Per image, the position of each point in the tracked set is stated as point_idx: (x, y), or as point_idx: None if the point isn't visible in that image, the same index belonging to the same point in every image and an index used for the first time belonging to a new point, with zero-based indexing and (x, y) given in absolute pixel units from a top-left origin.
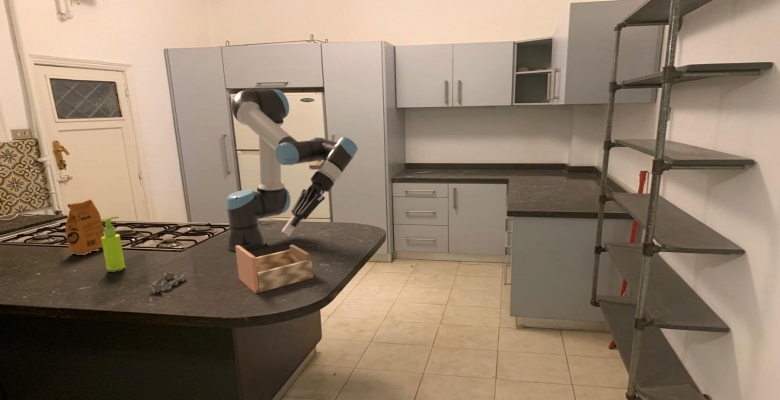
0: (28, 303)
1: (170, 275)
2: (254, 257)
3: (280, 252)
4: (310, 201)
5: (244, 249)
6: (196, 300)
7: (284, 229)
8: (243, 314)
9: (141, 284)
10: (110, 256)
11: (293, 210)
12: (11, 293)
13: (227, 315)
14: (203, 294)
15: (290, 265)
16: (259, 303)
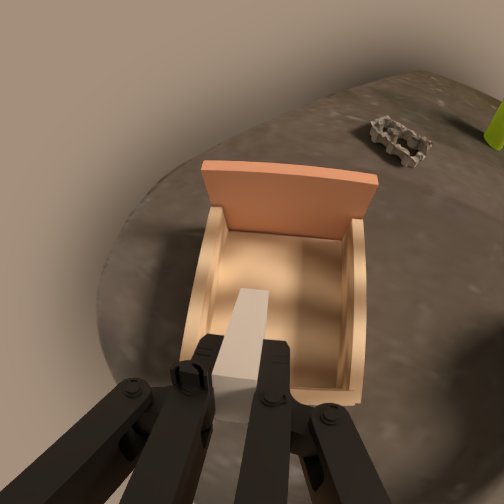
0: (413, 73)
1: (426, 149)
2: (201, 168)
3: (356, 351)
4: (44, 501)
5: (312, 175)
6: (299, 150)
7: (242, 296)
8: (167, 184)
9: (428, 132)
10: (493, 118)
11: (317, 423)
12: (446, 78)
13: (188, 165)
14: (321, 165)
15: (190, 305)
16: (182, 219)
